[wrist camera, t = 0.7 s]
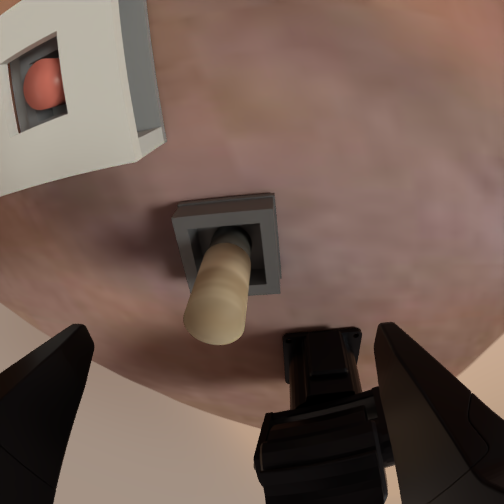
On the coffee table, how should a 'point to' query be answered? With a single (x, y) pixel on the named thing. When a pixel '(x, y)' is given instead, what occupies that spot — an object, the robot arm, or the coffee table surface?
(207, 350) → the coffee table surface
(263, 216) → the holder
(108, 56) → the breaker box
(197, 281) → the beige rounded rod
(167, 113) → the coffee table surface
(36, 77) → the breaker button
